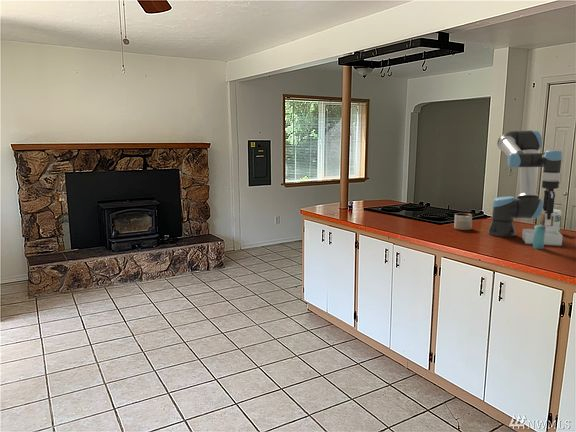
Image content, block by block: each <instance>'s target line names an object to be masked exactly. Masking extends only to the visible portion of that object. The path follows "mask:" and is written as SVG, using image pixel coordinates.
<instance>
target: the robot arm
mask: <svg viewBox="0 0 576 432" xmlns="http://www.w3.org/2000/svg"><path fill="white" fill-rule="evenodd" d="M542 138H543V137H542V134H541V133H540V131H538V130H511V131H506V132H505V133H503V134H501V135H500V136H499V138H498V140H497V143H496V144H497V147H498V149H499V150H500V151H501V152H503V153H504V154H505V155H506V156H507V161H506V162H507V166H508V167H509V168H519V194H518V195H517V196H516V197H515V196H511V195H510V196H499V197H496V198H494V199H493V202H492V203H493V204H492V215H491V223H490V225H489V228H488V230H487V234H488V235H490V236H494V237H501V238H503V237H504V238H511V237H515V236H516V228H515V226H514V219H529V220H530V219H538V218H539V217H541V214H543V215H545V225H548V226H551V218H552V213H553V209H554V207H555V197H556V193H555V192H556V191H555V189H559V188H560V181H559V180H560V177H561V176H562V174H561V168H562V167H561V166H562V159H563V152H562V150H556V149H555V150H554V149H551V150H550V149H548V150H545V152H539V150H541V149H542V146H543V139H542ZM537 168H543V172H542V182H541V188H542V189H545V190H544V191H543V192H544V193H543V199H541V198H540V197H539V194H537V175H536V169H537ZM542 212H543V213H542Z"/></svg>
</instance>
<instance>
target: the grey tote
mask: <svg viewBox="0 0 576 432" xmlns="http://www.w3.org/2000/svg"><path fill="white" fill-rule="evenodd" d="M563 237H564V236H563V234H561V232H560V233H559V232H558V231H557V230H546V229H545V236H544V246H557V247H558V246H559V247H560V246H561V247H562V246H563ZM521 239H522V241H523V242H524V243H525V244H526V245H527V244H528V245H533V239H534V229H533V228H522V235H521Z"/></svg>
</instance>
